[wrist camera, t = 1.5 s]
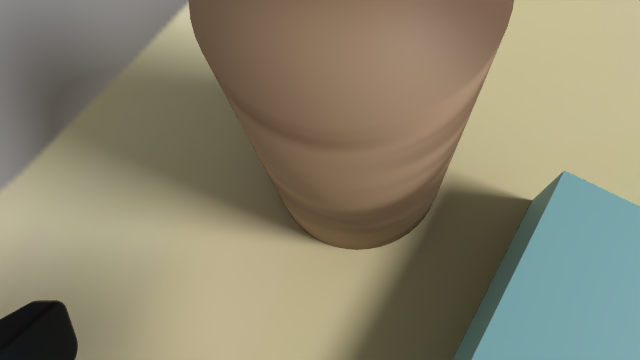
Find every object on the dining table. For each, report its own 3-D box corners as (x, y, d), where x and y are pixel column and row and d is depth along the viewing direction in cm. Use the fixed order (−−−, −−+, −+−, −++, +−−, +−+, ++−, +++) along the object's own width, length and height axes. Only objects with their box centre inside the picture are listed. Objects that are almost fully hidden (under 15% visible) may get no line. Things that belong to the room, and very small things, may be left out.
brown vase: (389, 281, 21) (414, 189, 9) (247, 198, 22) (125, 35, 11) (467, 142, 22) (570, -79, 11) (330, 74, 24) (297, -177, 13)
